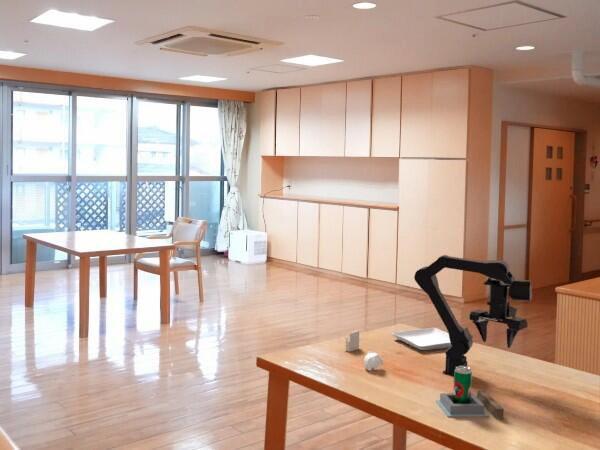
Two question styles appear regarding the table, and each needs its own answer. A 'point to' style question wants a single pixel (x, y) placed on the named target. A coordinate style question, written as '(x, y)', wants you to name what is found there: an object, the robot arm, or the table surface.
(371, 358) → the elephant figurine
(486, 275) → the robot arm
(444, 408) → the socket
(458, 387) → the soda can
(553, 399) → the table surface
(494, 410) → the long brown rectangular bar
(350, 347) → the architectural model
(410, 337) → the salad plate
